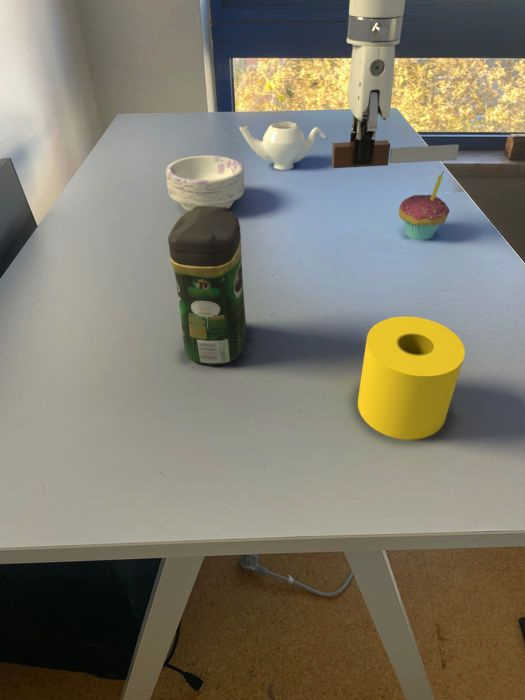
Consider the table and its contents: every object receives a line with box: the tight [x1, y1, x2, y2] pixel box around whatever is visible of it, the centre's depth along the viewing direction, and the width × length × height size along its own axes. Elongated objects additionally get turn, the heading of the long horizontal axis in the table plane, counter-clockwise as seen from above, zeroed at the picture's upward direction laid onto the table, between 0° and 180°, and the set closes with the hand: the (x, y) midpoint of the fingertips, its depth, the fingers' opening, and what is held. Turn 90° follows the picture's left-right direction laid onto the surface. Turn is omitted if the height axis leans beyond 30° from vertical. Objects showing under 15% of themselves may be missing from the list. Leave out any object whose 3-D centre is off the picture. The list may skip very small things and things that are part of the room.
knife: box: [331, 139, 460, 169], centre depth 84 cm, size 20×2×3 cm, turn 92°
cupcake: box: [398, 170, 451, 241], centre depth 90 cm, size 9×8×12 cm
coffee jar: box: [167, 206, 247, 366], centre depth 64 cm, size 10×8×19 cm
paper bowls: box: [165, 154, 245, 212], centre depth 103 cm, size 15×15×8 cm
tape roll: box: [357, 316, 466, 441], centre depth 57 cm, size 10×10×9 cm
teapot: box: [239, 121, 328, 171], centre depth 119 cm, size 10×20×9 cm, turn 92°
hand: (360, 159), depth 85 cm, fingers closed on knife, 2 cm apart
